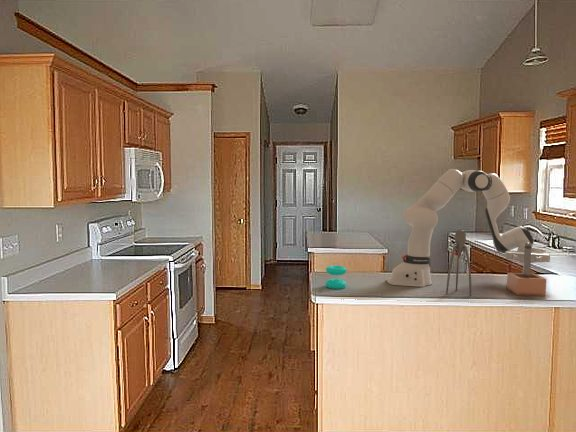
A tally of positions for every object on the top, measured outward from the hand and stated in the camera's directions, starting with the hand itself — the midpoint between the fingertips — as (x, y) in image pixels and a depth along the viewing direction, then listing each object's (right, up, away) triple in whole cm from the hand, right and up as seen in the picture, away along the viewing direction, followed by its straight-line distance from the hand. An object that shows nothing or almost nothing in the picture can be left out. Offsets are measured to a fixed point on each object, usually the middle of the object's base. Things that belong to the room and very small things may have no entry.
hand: (527, 258), depth 251 cm
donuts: (-91, -14, +4) cm, 93 cm away
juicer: (-35, -16, -4) cm, 38 cm away
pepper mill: (-2, -15, -1) cm, 15 cm away
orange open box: (-2, -16, -1) cm, 16 cm away
